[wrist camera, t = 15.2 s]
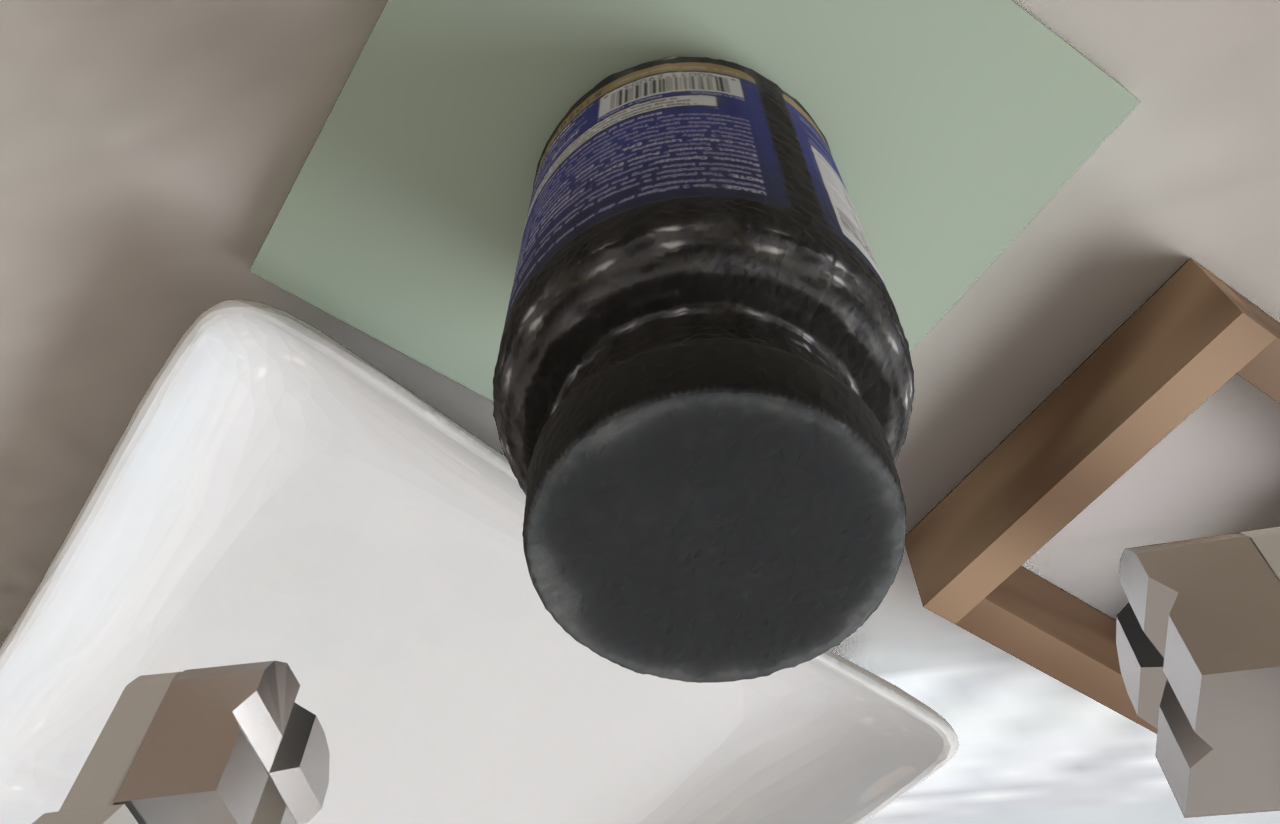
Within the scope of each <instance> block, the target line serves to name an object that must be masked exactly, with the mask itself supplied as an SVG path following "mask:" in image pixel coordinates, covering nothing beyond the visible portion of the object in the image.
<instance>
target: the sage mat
mask: <svg viewBox="0 0 1280 824" xmlns="http://www.w3.org/2000/svg"><path fill="white" fill-rule="evenodd" d="M675 56H681V57H708V58H712V59H722V60H725V61H729V62H734V63H737V64H739V65H742V66H744V67H747V68H750V69H753V70H754V71H756V72H757V73H759V74H760V75H762V76H764V77H765V78H767V79H769V80H770V81H772V82H774V83H776V84H777V85H778V86H779V87H780V88H781V89H782V90H783V91H784V92H786V93H787V94H789V95H790V96H792V97H794V98H795V99H796V100H797V101H798V102H799V103H800V104H801V105H802V106H803V107H804V108H805V109H806V111H807V112H808V113H809V114H810V116H811V117H812V118H813V120H814V121H815V123H816V124H817V126H818V128H819V129H820V130H821V131H822V133H823V135H824V136H825V138H826V140H827V142H828V145H829V148H830V150H831V154H832V157H833V159H834V162H835V164H836V166H837V169H838V171H839V173H840V176H841V178H842V180H843V183H844V185H845V188H846V190H847V192H848V195H849V197H850V200H851V202H852V205H853V207H854V209H855V211H856V214H857V216H858V219H859V222H860V224H861V227H862V229H863V231H864V234H865V236H866V239H867V241H868V244H869V246H870V249H871V251H872V254H873V256H874V259H875V261H876V264H877V266H878V269H879V271H880V273H881V275H882V279H883V281H884V283H885V286H886V288H887V291H888V293H889V295H890V297H891V299H892V301H893V303H894V306H895V308H896V311H897V314H898V317H899V320H900V324H901V326H902V328H903V330H904V335H905V337H906V339H907V341H908V343H909V351H910V352H911V351H912V350H913V349H914V348H915V347H916V345H917V344H918V343H919V342H920V341H921V340H922V339H923V338H924V337H925V336H926V335H927V333H928V332H929V331H930V330H931V329H932V328H933V327H934V326H935V325H936V324H937V323H938V322H939V320H940V319H941V318H942V317H943V316H944V315H945V314H946V313H947V312H948V311H949V310H950V308H951V307H952V306H953V305H954V304H955V303H956V302H957V301H958V300H959V299H960V298H961V296H962V295H963V294H964V293H965V292H966V291H967V290H968V289H969V288H970V287H971V286H972V284H973V283H974V282H975V281H976V280H977V279H978V278H979V277H980V276H981V275H982V274H983V273H984V271H985V270H986V269H987V268H988V267H989V266H990V265H991V264H992V263H993V262H994V261H995V259H996V258H997V257H998V256H999V255H1000V254H1001V253H1002V252H1003V251H1004V250H1005V249H1006V247H1007V246H1008V245H1009V244H1010V243H1011V242H1012V241H1013V240H1014V239H1015V238H1016V237H1017V235H1018V234H1019V233H1020V232H1021V231H1022V230H1023V229H1024V228H1025V227H1026V226H1027V225H1028V224H1029V222H1030V221H1031V220H1032V219H1033V218H1034V217H1035V216H1036V215H1037V214H1038V213H1039V212H1040V210H1041V209H1042V208H1043V207H1044V206H1045V205H1046V204H1047V203H1048V202H1049V201H1050V200H1051V198H1052V197H1053V196H1054V195H1055V194H1056V193H1057V192H1058V191H1059V190H1060V189H1061V188H1062V187H1063V185H1064V184H1065V183H1066V182H1067V181H1068V180H1069V179H1070V178H1071V177H1072V176H1073V175H1074V173H1075V172H1076V171H1077V170H1078V169H1079V168H1080V167H1081V166H1082V165H1083V164H1084V163H1085V161H1086V160H1087V159H1088V158H1089V157H1090V156H1091V155H1092V154H1093V153H1094V152H1095V151H1096V149H1097V148H1098V147H1099V146H1100V145H1101V144H1102V143H1103V142H1104V141H1105V140H1106V139H1107V138H1108V136H1109V135H1110V134H1111V133H1112V132H1113V131H1114V130H1115V129H1116V128H1117V127H1118V126H1119V124H1120V123H1121V122H1122V121H1123V120H1124V119H1125V118H1126V117H1127V116H1128V115H1129V114H1130V112H1131V111H1132V110H1133V109H1134V108H1135V107H1136V106H1137V105H1138V104H1139V103H1140V102H1141V101H1140V100H1139V99H1138V98H1136V97H1135V96H1134V95H1133V94H1132V93H1131V92H1129V91H1128V90H1127V89H1125V88H1124V87H1123V86H1122V85H1120V84H1119V83H1118V82H1116V81H1115V80H1114V79H1113V78H1111V77H1110V76H1109V75H1107V74H1106V73H1105V72H1104V71H1102V70H1101V69H1100V68H1099V67H1097V66H1096V65H1095V64H1093V63H1092V62H1091V61H1090V60H1088V59H1087V58H1086V57H1084V56H1083V55H1082V54H1081V53H1079V52H1078V51H1077V50H1075V49H1074V48H1073V47H1072V46H1070V45H1069V44H1068V43H1066V42H1065V41H1064V40H1063V39H1061V38H1060V37H1059V36H1057V35H1056V34H1055V33H1054V32H1052V31H1051V30H1050V29H1049V28H1047V27H1046V26H1045V25H1043V24H1042V23H1041V22H1040V21H1038V20H1037V19H1036V18H1034V17H1033V16H1032V15H1031V14H1029V13H1028V12H1027V11H1025V10H1024V9H1023V8H1022V7H1020V6H1019V5H1018V4H1016V3H1015V2H1014V1H1013V0H388V2H387V4H386V6H385V7H384V9H383V11H382V13H381V15H380V17H379V19H378V21H377V23H376V25H375V27H374V29H373V31H372V33H371V35H370V37H369V39H368V41H367V43H366V45H365V46H364V48H363V50H362V52H361V54H360V56H359V58H358V60H357V62H356V64H355V66H354V68H353V70H352V72H351V74H350V76H349V78H348V80H347V82H346V84H345V85H344V87H343V89H342V91H341V93H340V95H339V97H338V99H337V101H336V103H335V105H334V107H333V109H332V111H331V113H330V115H329V117H328V119H327V121H326V123H325V124H324V126H323V128H322V130H321V132H320V134H319V136H318V138H317V140H316V142H315V144H314V146H313V148H312V150H311V152H310V154H309V156H308V158H307V160H306V162H305V163H304V165H303V167H302V169H301V171H300V173H299V175H298V177H297V179H296V181H295V183H294V185H293V187H292V189H291V191H290V193H289V195H288V197H287V199H286V201H285V202H284V204H283V206H282V208H281V210H280V212H279V214H278V216H277V218H276V220H275V222H274V224H273V226H272V228H271V230H270V232H269V234H268V236H267V238H266V240H265V241H264V243H263V245H262V247H261V249H260V251H259V253H258V255H257V257H256V259H255V261H254V263H253V265H252V267H251V269H250V272H252V273H253V274H255V275H257V276H259V277H261V278H263V279H265V280H267V281H268V282H270V283H272V284H274V285H276V286H278V287H280V288H282V289H283V290H285V291H287V292H289V293H291V294H293V295H295V296H296V297H298V298H300V299H302V300H304V301H306V302H308V303H310V304H311V305H313V306H315V307H317V308H319V309H321V310H323V311H325V312H326V313H328V314H330V315H332V316H334V317H336V318H338V319H339V320H341V321H343V322H345V323H347V324H349V325H351V326H353V327H354V328H356V329H358V330H360V331H362V332H364V333H366V334H368V335H369V336H371V337H373V338H375V339H377V340H379V341H381V342H382V343H384V344H386V345H388V346H390V347H392V348H394V349H396V350H397V351H399V352H401V353H403V354H405V355H407V356H409V357H411V358H412V359H414V360H416V361H418V362H420V363H422V364H424V365H426V366H427V367H429V368H431V369H433V370H435V371H437V372H439V373H440V374H442V375H444V376H446V377H448V378H450V379H452V380H454V381H455V382H457V383H459V384H461V385H463V386H465V387H467V388H469V389H470V390H472V391H474V392H476V393H478V394H480V395H482V396H483V397H485V398H487V399H489V400H491V401H493V377H494V369H495V366H496V363H497V359H498V354H499V348H500V343H501V338H502V334H503V329H504V325H505V320H506V315H507V310H508V305H509V301H510V296H511V291H512V287H513V282H514V277H515V272H516V267H517V262H518V258H519V253H520V248H521V243H522V237H523V232H524V228H525V224H526V220H527V215H528V210H529V205H530V200H531V196H532V191H533V183H534V179H535V175H536V170H537V165H538V162H539V159H540V157H541V154H542V152H543V149H544V147H545V145H546V143H547V141H548V139H549V138H550V136H551V135H552V133H553V131H554V130H555V128H556V127H557V125H558V124H559V122H560V121H561V119H562V118H563V117H564V116H565V115H566V114H567V112H568V111H569V109H570V108H571V107H572V106H573V105H574V104H575V103H576V102H577V101H578V100H579V99H580V98H581V97H582V96H583V95H584V94H586V93H587V92H589V91H590V90H591V89H593V88H594V87H595V86H596V85H597V84H598V83H599V82H601V81H602V80H603V79H605V78H606V77H608V76H610V75H611V74H614V73H617V72H621V71H623V70H625V69H628V68H632V67H635V66H637V65H640V64H642V63H646V62H650V61H655V60H659V59H663V58H667V57H675ZM493 402H494V401H493Z"/></svg>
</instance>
